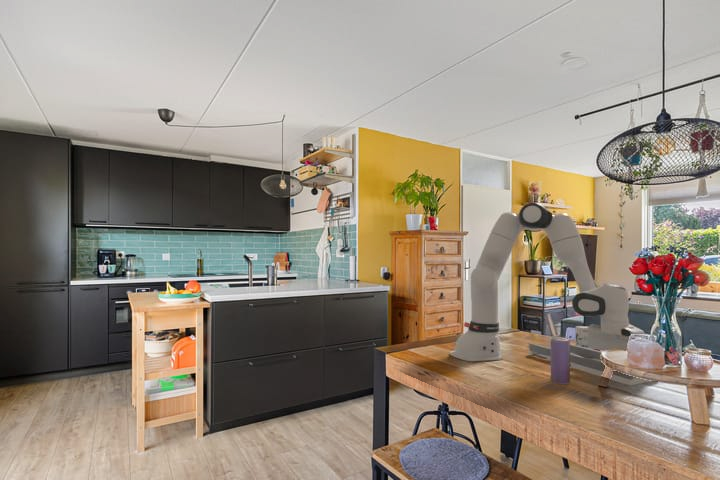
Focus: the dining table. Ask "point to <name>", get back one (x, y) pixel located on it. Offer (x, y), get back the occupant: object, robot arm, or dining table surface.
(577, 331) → the ink box
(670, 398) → the dining table surface
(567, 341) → the beverage can
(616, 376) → the trap track
